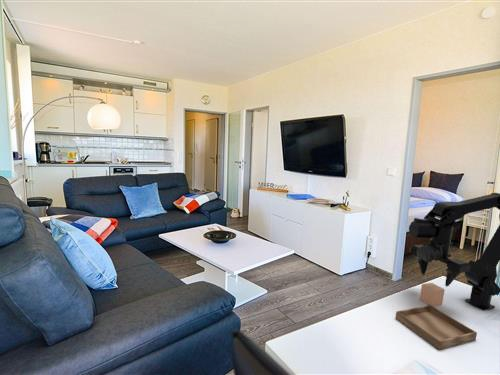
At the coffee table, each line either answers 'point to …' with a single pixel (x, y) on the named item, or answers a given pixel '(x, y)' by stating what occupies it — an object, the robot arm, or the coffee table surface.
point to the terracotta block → (432, 294)
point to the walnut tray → (435, 327)
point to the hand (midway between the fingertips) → (434, 280)
